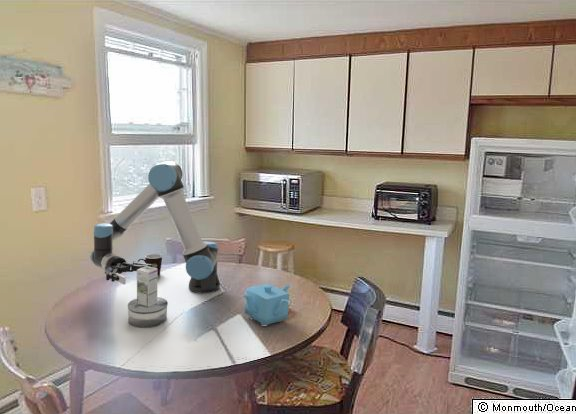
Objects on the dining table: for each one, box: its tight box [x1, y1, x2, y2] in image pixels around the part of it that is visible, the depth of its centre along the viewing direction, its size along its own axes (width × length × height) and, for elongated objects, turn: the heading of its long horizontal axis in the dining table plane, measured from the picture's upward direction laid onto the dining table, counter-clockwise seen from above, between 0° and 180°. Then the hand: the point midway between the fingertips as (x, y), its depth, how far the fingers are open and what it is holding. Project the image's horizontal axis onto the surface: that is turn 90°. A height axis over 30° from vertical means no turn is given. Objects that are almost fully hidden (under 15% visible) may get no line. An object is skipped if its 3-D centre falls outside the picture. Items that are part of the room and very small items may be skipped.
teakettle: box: [241, 283, 292, 325], centre depth 171 cm, size 19×19×15 cm
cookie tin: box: [127, 296, 168, 329], centre depth 165 cm, size 15×15×7 cm
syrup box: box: [136, 266, 158, 307], centre depth 163 cm, size 6×6×14 cm
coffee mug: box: [137, 253, 163, 277], centre depth 217 cm, size 12×9×10 cm
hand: (140, 277), depth 165 cm, fingers open, 13 cm apart
